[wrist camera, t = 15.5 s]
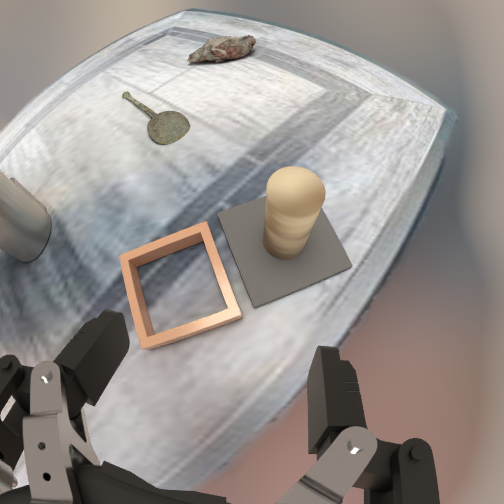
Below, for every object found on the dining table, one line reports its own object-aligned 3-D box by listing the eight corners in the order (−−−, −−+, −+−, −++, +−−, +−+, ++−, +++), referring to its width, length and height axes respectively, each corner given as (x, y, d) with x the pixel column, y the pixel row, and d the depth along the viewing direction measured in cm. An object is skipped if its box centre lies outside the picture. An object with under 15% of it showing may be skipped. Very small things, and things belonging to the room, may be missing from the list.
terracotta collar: (128, 262, 31) (119, 255, 29) (210, 230, 32) (206, 221, 30) (150, 349, 27) (141, 348, 25) (242, 317, 28) (241, 314, 26)
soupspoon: (164, 156, 38) (198, 135, 40) (159, 141, 35) (196, 120, 37) (113, 105, 44) (140, 90, 46) (109, 93, 41) (136, 77, 42)
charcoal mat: (218, 216, 33) (217, 213, 32) (306, 186, 34) (306, 182, 33) (254, 308, 29) (254, 307, 28) (350, 267, 30) (352, 265, 29)
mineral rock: (188, 68, 47) (185, 52, 43) (193, 53, 50) (190, 39, 46) (257, 63, 47) (257, 46, 43) (255, 48, 50) (255, 33, 45)
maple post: (256, 228, 31) (257, 175, 22) (293, 215, 32) (308, 160, 22) (273, 265, 30) (282, 223, 20) (312, 250, 30) (336, 204, 21)
